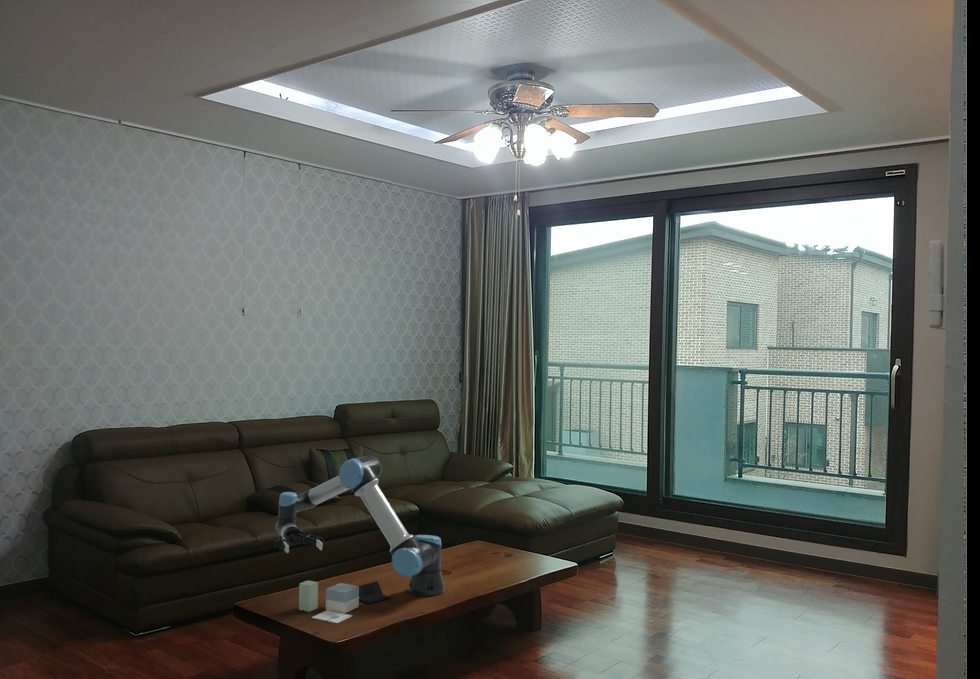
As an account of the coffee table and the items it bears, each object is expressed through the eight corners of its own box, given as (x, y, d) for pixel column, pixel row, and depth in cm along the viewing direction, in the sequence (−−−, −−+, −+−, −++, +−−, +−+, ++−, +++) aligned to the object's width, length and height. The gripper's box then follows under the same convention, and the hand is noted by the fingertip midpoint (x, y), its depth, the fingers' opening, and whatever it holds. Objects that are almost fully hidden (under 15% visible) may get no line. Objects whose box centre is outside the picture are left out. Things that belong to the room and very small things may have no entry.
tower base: (358, 606, 305) (358, 586, 305) (344, 613, 297) (344, 592, 297) (340, 603, 309) (340, 582, 309) (325, 609, 301) (326, 588, 301)
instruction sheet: (352, 616, 294) (352, 615, 294) (337, 623, 286) (337, 622, 286) (327, 611, 300) (327, 609, 300) (311, 617, 292) (311, 616, 292)
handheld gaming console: (373, 602, 307) (364, 578, 311) (361, 610, 309) (353, 587, 314) (393, 599, 316) (384, 576, 320) (381, 607, 318) (373, 584, 323)
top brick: (317, 608, 303) (317, 582, 303) (309, 611, 298) (309, 585, 299) (307, 606, 305) (307, 580, 305) (298, 609, 301) (299, 583, 301)
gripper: (320, 541, 335) (334, 555, 317) (261, 545, 324) (272, 560, 305) (321, 524, 335) (335, 536, 317) (262, 527, 324) (274, 541, 305)
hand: (305, 548), depth 311 cm, fingers open, 13 cm apart
